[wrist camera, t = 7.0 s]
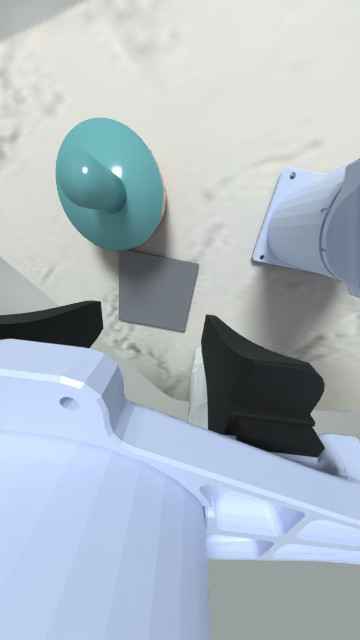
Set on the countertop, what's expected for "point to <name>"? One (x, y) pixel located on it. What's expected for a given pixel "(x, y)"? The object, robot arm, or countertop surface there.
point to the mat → (155, 290)
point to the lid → (109, 184)
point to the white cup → (198, 393)
